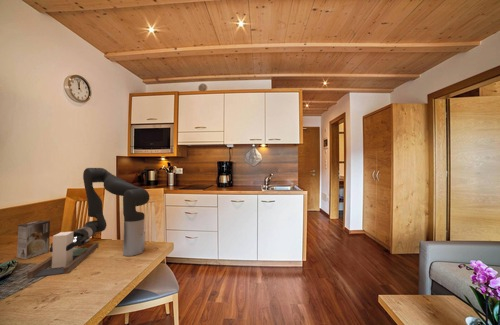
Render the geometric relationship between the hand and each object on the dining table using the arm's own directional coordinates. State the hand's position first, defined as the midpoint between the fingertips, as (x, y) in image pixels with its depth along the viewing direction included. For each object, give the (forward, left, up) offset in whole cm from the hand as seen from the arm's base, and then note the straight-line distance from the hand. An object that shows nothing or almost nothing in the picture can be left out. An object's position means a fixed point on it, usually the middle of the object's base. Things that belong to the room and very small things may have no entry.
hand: (59, 249), depth 84 cm
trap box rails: (0, -7, -8) cm, 11 cm away
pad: (0, -16, -8) cm, 18 cm away
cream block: (0, -3, -8) cm, 8 cm away
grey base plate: (0, -2, -8) cm, 8 cm away
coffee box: (+20, -19, -8) cm, 29 cm away
